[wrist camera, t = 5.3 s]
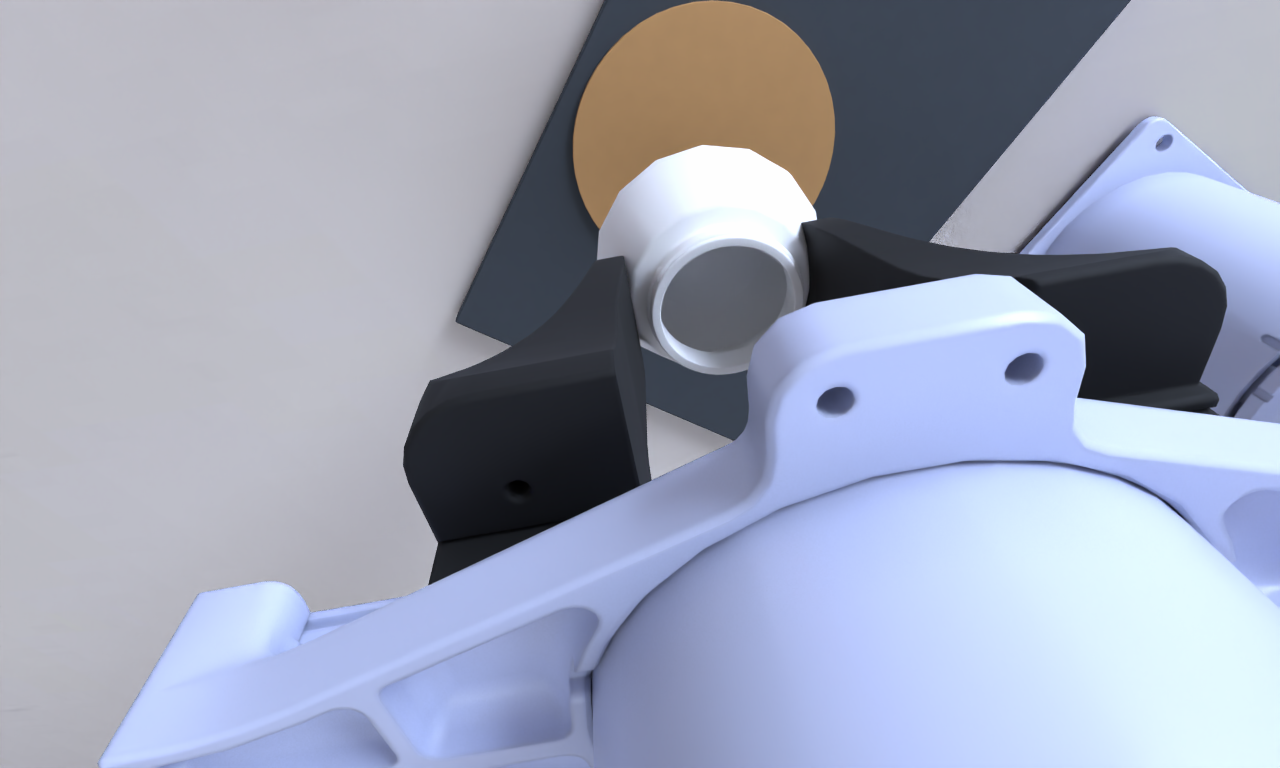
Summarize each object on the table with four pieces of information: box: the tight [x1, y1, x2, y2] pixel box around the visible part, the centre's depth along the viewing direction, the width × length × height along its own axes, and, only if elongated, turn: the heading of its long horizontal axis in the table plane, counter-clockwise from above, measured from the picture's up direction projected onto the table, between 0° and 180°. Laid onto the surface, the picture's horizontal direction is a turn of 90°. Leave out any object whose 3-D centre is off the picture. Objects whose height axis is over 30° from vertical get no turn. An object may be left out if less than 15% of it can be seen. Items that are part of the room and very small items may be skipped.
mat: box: [456, 0, 1131, 441], centre depth 20 cm, size 13×20×1 cm, turn 150°
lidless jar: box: [597, 145, 817, 375], centre depth 14 cm, size 5×3×5 cm
